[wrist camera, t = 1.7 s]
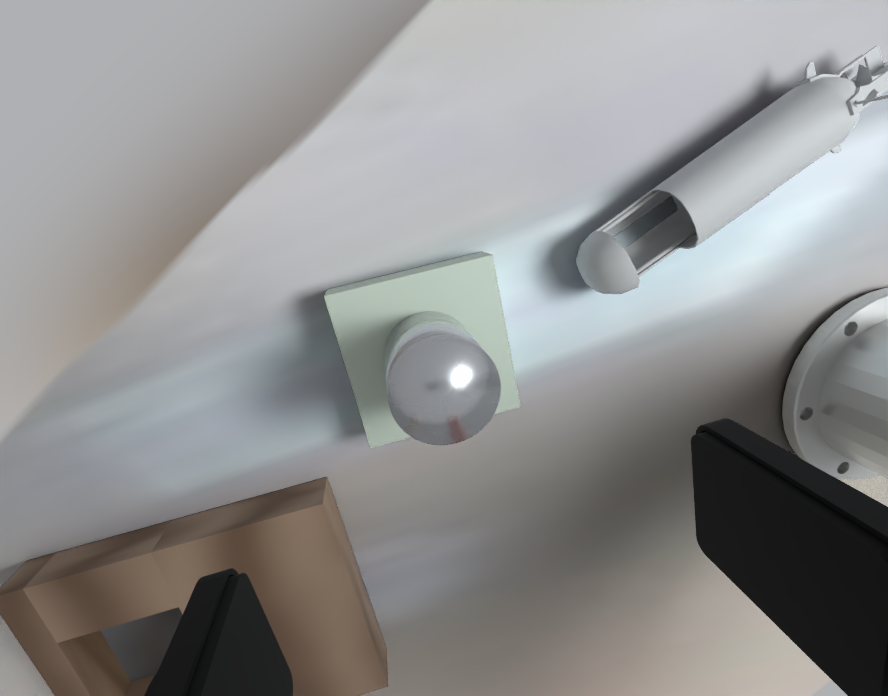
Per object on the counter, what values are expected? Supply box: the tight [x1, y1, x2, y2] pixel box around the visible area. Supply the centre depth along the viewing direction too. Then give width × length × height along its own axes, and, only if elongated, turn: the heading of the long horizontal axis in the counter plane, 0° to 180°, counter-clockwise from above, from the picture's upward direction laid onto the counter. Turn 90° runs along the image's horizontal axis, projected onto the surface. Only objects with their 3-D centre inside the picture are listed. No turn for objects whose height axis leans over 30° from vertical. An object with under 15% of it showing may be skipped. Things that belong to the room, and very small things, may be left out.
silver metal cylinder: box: [384, 311, 501, 445], centre depth 20 cm, size 4×4×5 cm
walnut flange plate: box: [0, 477, 388, 696], centre depth 26 cm, size 16×13×3 cm
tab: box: [324, 252, 521, 449], centre depth 23 cm, size 8×8×2 cm
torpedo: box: [576, 45, 888, 294], centre depth 22 cm, size 18×5×7 cm, turn 125°
